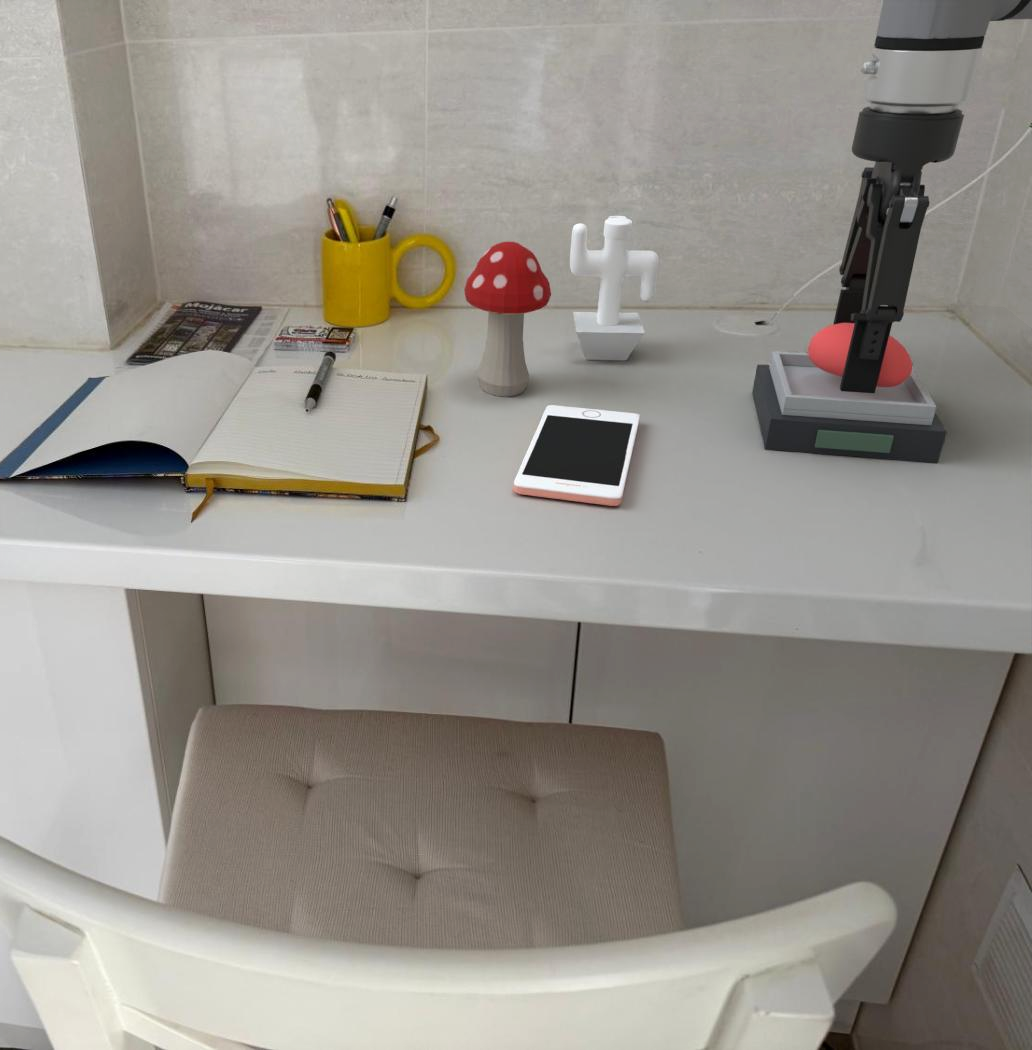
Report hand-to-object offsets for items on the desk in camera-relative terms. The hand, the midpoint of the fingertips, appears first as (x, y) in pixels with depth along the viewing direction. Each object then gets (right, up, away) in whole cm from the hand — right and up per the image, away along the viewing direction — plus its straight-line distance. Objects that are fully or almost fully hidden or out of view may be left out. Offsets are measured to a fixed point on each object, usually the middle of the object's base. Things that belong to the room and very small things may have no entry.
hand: (849, 373), depth 91 cm
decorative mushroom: (-29, +1, +14) cm, 33 cm away
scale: (0, -4, +3) cm, 5 cm away
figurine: (-17, +5, +22) cm, 28 cm away
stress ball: (0, -1, 0) cm, 1 cm away
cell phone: (-25, -8, -2) cm, 26 cm away
